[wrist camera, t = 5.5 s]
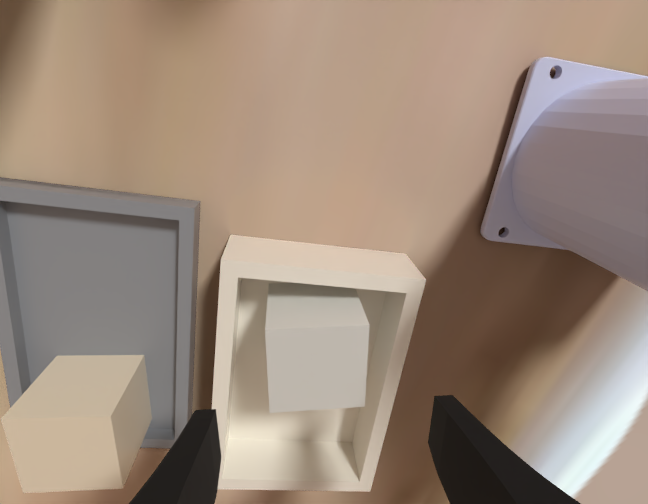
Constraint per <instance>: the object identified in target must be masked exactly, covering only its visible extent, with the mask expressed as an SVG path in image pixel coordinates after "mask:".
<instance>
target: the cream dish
mask: <svg viewBox="0 0 648 504" xmlns="http://www.w3.org/2000/svg"><path fill="white" fill-rule="evenodd" d="M271 283H303V284H314V285H324V286H335V287H346V288H356V291H357V294H358V296H359V299H360V301H361V304H362V307H363V309H364V312H365V314H366V317H367V320H368V322H369V325H370V326H369V344H368V361H367V378H366V396H365V407H352V408H337V409H322V410H307V411H292V412H277V413H270V411H269V393H268V375H267V357H266V339H265V324H266V311H267V299H268V286H269V284H271ZM425 283H426V279H425V277H424V276H423V275H422V274H421V272H420V271H419V270H418V269H417V267H416V266H415V265H414V264H413V262H412V261H411V260H410V259H409V257H408V256H407V255H406V254H405V253H396V252H386V251H377V250H368V249H359V248H349V247H340V246H331V245H322V244H312V243H303V242H294V241H285V240H275V239H266V238H257V237H248V236H239V235H230V237H229V240H228V242H227V245H226V248H225V250H224V253H223V255H222V258H221V265H220V281H219V297H218V314H217V330H216V346H215V363H214V379H213V395H212V409H216V415H217V423H218V432H219V440H220V449H221V465H220V473H219V481H218V489H239V490H302V491H364V492H370V491H371V487H372V483H373V479H374V475H375V472H376V468H377V464H378V460H379V457H380V453H381V449H382V445H383V441H384V438H385V434H386V430H387V426H388V423H389V419H390V415H391V411H392V407H393V404H394V400H395V396H396V392H397V389H398V385H399V381H400V377H401V373H402V370H403V366H404V362H405V358H406V355H407V351H408V347H409V343H410V339H411V336H412V332H413V328H414V324H415V321H416V317H417V313H418V309H419V305H420V302H421V298H422V294H423V290H424V287H425Z"/></svg>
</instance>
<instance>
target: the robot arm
mask: <svg viewBox="0 0 648 504" xmlns="http://www.w3.org/2000/svg"><path fill="white" fill-rule="evenodd" d="M552 67H555V70H556V74H555V76H554V77H553V78H551V77H550V70H551V69H552ZM503 227H505V231H504V232H503V233H502V234H501V235H498V233H499V230H500V229H501V228H503ZM480 232H481V235H482V236H483V237H484V238H485V239H487V240H490V241H496V242H505V243H513V244H522V245H531V246H539V247H548V248H556V249H565V250H570V251H572V252H574V253H576V254H578V255H580V256H582V257H584V258H586V259H587V260H589V261H591V262H593V263H595V264H597V265H599V266H601V267H603V268H605V269H607V270H609V271H610V272H612V273H614V274H616V275H618V276H620V277H622V278H624V279H626V280H628V281H630V282H631V283H633V284H635V285H637V286H639V287H641V288H643V289H645V290H647V291H648V76H643V75H638V74H633V73H628V72H623V71H618V70H612V69H607V68H602V67H597V66H592V65H587V64H582V63H576V62H571V61H566V60H561V59H556V58H551V57H542V58H538V59H536V60H535V61H534V62H533V63H532V64H531V66H530V68H529V70H528V74H527V77H526V80H525V84H524V87H523V90H522V93H521V97H520V100H519V103H518V107H517V110H516V113H515V117H514V120H513V123H512V126H511V130H510V133H509V136H508V140H507V143H506V146H505V150H504V153H503V156H502V160H501V163H500V166H499V169H498V173H497V176H496V179H495V183H494V186H493V189H492V193H491V196H490V199H489V202H488V206H487V209H486V212H485V216H484V219H483V222H482V226H481V231H480ZM428 444H429V447H430V450H431V454H432V457H433V461H434V464H435V467H436V470H437V473H438V476H439V478H440V481H441V483H442V485H443V488H444V490H445V492H446V495H447V497H448V499H449V502H450V504H580V503H579V502H578V501H576V500H575V499H573V498H572V497H570V496H569V495H567V494H566V493H565V492H563V491H562V490H561V489H559V488H558V487H556V486H555V485H554V484H552V483H551V482H550V481H548V480H547V479H546V478H544V477H543V476H542V475H540V474H539V473H538V472H537V471H535V470H534V469H533V468H532V467H530V466H529V465H528V464H527V463H526V462H524V461H523V460H522V459H521V458H520V457H518V456H517V455H516V454H515V453H514V452H512V451H511V450H510V449H509V448H508V447H507V446H506V445H504V444H503V443H502V442H501V441H500V440H499V439H498V438H497V437H496V436H495V435H493V434H492V433H491V432H490V431H489V430H488V429H487V428H486V427H485V426H484V425H483V424H482V423H481V422H480V421H479V420H478V419H476V418H475V417H474V416H473V415H472V414H471V413H470V412H469V411H468V410H467V409H466V408H465V407H464V406H463V405H462V404H461V403H460V402H459V401H458V400H457V399H456V398H455V397H454V396H453V395H447V396H435V397H434V404H433V411H432V418H431V426H430V433H429V440H428ZM220 465H221V449H220V440H219V432H218V423H217V415H216V409H209V410H196V411H195V412H194V413H193V414H192V416H191V418H190V419H189V421H188V423H187V424H186V426H185V428H184V429H183V431H182V432H181V434H180V435H179V437H178V438H177V440H176V441H175V443H174V444H173V446H172V447H171V449H170V450H169V452H168V453H167V455H166V456H165V457H164V459H163V460H162V462H161V463H160V464H159V466H158V467H157V469H156V470H155V471H154V473H153V474H152V475H151V477H150V478H149V479H148V480H147V482H146V483H145V484H144V486H143V487H142V488H141V489H140V491H139V492H138V493H137V495H136V496H135V497H134V498H133V500H132V501H131V502H130V503H129V504H214V503H215V499H216V494H217V489H218V481H219V473H220Z"/></svg>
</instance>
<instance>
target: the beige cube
mask: <svg viewBox="0 0 648 504" xmlns="http://www.w3.org/2000/svg"><path fill="white" fill-rule="evenodd" d="M151 420H152V414H151V406H150V397H149V389H148V381H147V373H146V365H145V357H144V355H72V356H56V357H55V358H54V360H53V361H52V362H51V363H50V364H49V365H48V366H47V367H46V369H45V370H44V371H43V372H42V373H41V374H40V375H39V376H38V378H37V379H36V380H35V381H34V382H33V383H32V384H31V385H30V387H29V388H28V389H27V390H26V391H25V392H24V393H23V395H22V396H21V397H20V398H19V399H18V400H17V401H16V402H15V404H14V405H13V406H12V407H11V408H10V409H9V410H8V411H7V413H6V414H5V415H4V416H3V417H2V418H1V421H2V425H3V428H4V431H5V435H6V438H7V441H8V445H9V448H10V451H11V455H12V458H13V461H14V465H15V468H16V471H17V474H18V478H19V481H20V484H21V488H22V491H23V493H36V492H59V491H82V490H104V489H123V488H124V485H125V483H126V480H127V478H128V476H129V473H130V471H131V468H132V466H133V464H134V461H135V459H136V456H137V454H138V451H139V449H140V447H141V444H142V442H143V439H144V437H145V434H146V432H147V430H148V427H149V425H150V422H151Z"/></svg>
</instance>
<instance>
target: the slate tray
mask: <svg viewBox="0 0 648 504" xmlns="http://www.w3.org/2000/svg"><path fill="white" fill-rule="evenodd" d="M199 222H200V201H194V200H186V199H177V198H169V197H161V196H152V195H144V194H135V193H127V192H119V191H110V190H102V189H93V188H85V187H76V186H68V185H60V184H51V183H43V182H34V181H26V180H18V179H9V178H1V177H0V348H1V354H2V360H3V366H4V372H5V378H6V384H7V391H8V397H9V403H10V408H11V407H12V406H13V405H14V404H15V402H16V401H17V400H18V399H19V398H20V397H21V396H22V395H23V393H24V392H25V391H26V390H27V389H28V388H29V387H30V385H31V384H32V383H33V382H34V381H35V380H36V379H37V378H38V376H39V375H40V374H41V373H42V372H43V371H44V370H45V369H46V367H47V366H48V365H49V364H50V363H51V362H52V361H53V360H54V358H55V357H56V356H72V355H144V357H145V365H146V373H147V381H148V389H149V397H150V406H151V414H152V420H151V422H150V425H149V427H148V430H147V432H146V434H145V437H144V439H143V442H142V444H141V447H140V448H171V447H172V446H173V444H174V443H175V441H176V440H177V438H178V437H179V435H180V434H181V432H182V431H183V429H184V428H185V426H186V424H187V423H188V421H189V419H190V418H191V416H192V400H193V375H194V349H195V324H196V298H197V273H198V247H199Z"/></svg>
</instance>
